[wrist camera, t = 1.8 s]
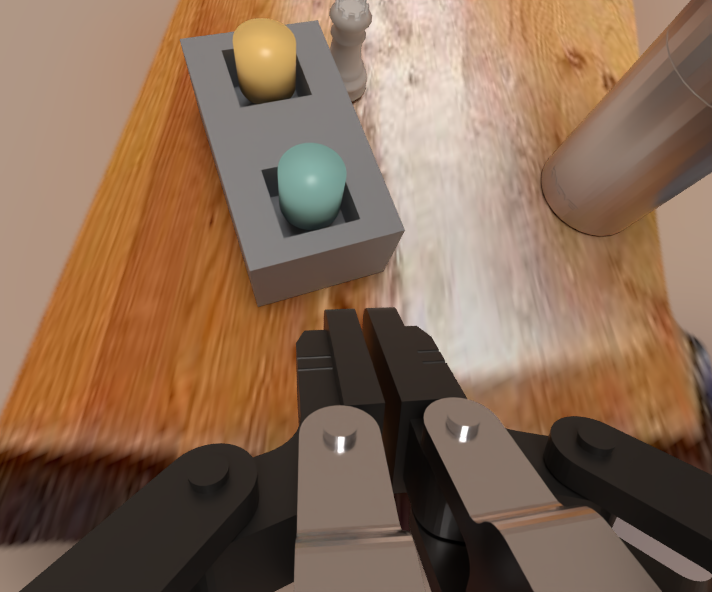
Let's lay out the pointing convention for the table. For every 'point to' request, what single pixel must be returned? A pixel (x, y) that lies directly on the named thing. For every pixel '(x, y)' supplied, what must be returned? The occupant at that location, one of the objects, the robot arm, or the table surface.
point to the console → (260, 169)
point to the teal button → (311, 185)
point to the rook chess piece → (350, 43)
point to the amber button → (265, 60)
